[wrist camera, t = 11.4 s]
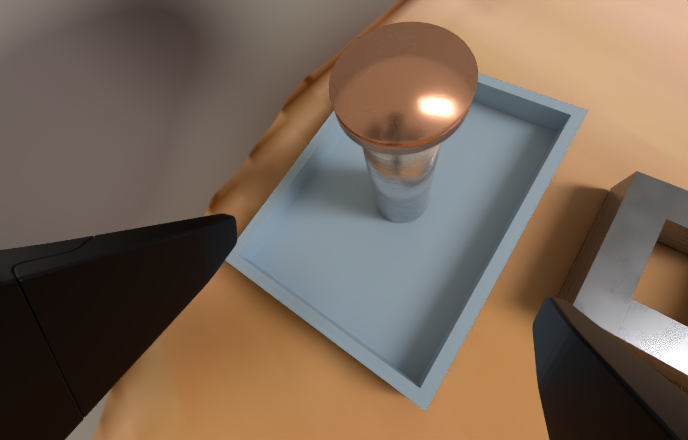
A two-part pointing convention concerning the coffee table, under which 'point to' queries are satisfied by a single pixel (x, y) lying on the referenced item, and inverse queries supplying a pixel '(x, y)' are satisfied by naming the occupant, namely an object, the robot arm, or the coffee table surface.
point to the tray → (407, 235)
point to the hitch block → (633, 271)
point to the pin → (403, 107)
